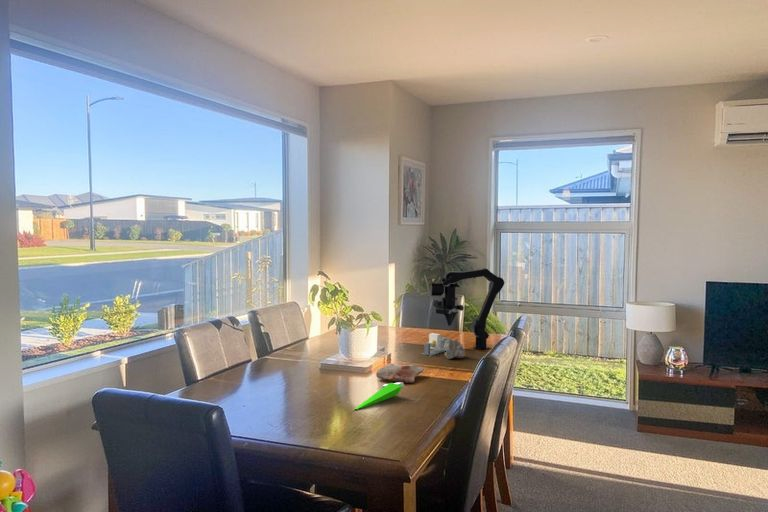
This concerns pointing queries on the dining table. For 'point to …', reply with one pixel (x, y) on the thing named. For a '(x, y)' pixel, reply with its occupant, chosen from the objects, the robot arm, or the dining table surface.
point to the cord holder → (432, 344)
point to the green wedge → (383, 394)
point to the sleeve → (436, 338)
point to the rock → (453, 349)
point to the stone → (399, 373)
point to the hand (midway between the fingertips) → (449, 325)
